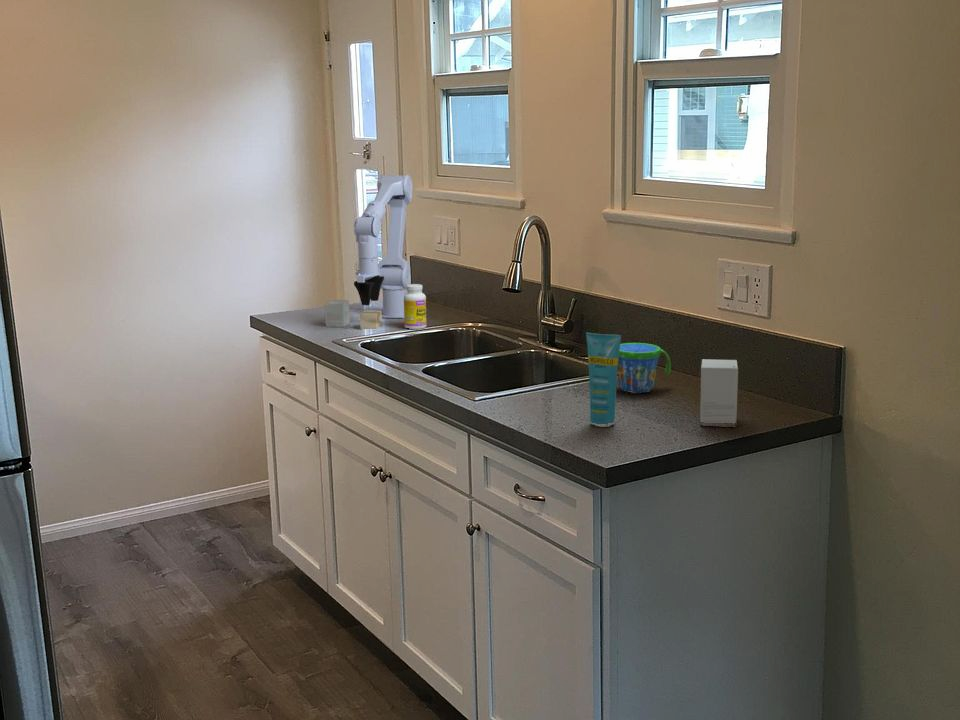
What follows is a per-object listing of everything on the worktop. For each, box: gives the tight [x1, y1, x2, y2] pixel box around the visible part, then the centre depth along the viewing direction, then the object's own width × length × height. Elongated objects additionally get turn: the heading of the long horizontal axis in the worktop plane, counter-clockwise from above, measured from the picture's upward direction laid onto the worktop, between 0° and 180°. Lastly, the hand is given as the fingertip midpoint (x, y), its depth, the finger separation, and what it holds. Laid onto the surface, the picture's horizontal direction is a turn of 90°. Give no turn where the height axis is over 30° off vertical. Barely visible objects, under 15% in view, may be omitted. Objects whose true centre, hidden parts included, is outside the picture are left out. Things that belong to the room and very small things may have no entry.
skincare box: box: [323, 299, 351, 328], centre depth 320 cm, size 6×6×7 cm
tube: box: [585, 332, 622, 424], centre depth 214 cm, size 7×5×19 cm, turn 69°
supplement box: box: [699, 358, 739, 424], centre depth 215 cm, size 7×7×13 cm
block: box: [359, 310, 383, 330], centre depth 314 cm, size 5×5×5 cm
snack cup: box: [617, 342, 672, 393], centre depth 240 cm, size 16×10×10 cm
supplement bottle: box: [403, 283, 428, 330], centre depth 313 cm, size 7×7×13 cm
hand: (370, 302), depth 313 cm, fingers open, 7 cm apart
